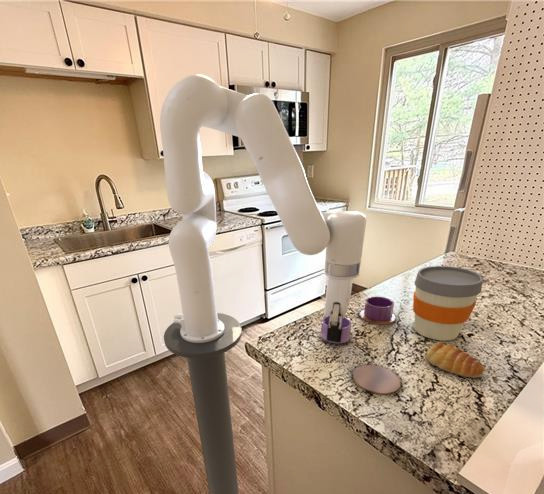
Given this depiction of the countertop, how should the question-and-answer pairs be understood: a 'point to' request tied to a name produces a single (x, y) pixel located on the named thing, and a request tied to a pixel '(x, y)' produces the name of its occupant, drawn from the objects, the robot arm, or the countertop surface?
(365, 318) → the far coaster
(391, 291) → the countertop surface
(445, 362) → the pastry
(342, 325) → the lavender dish
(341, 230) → the robot arm
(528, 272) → the countertop surface
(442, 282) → the reusable coffee cup
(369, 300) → the plum dish
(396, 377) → the near coaster
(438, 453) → the countertop surface
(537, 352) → the countertop surface
